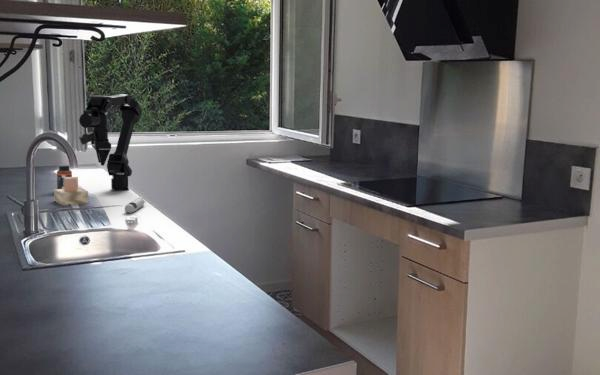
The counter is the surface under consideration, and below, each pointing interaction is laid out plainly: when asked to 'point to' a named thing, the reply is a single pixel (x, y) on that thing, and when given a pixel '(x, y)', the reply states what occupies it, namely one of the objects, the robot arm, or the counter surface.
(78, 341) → the counter surface
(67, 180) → the terracotta cube
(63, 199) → the beech block
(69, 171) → the supplement bottle
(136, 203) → the torpedo
